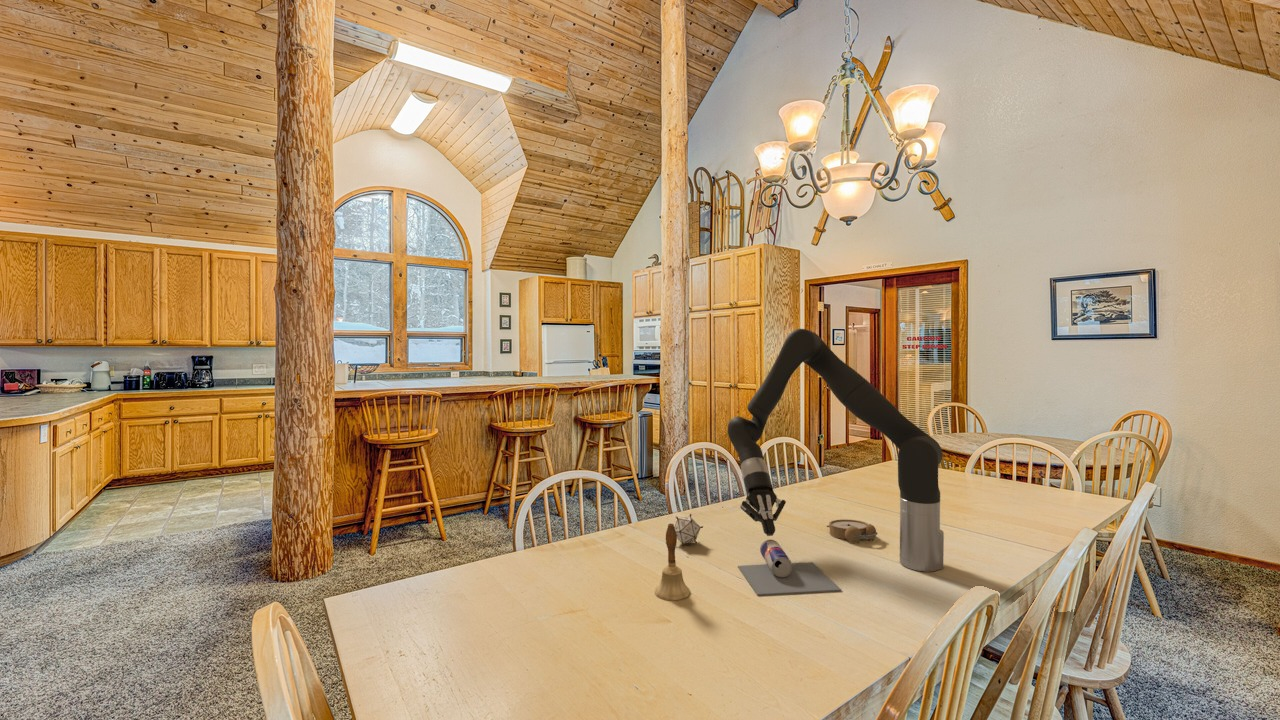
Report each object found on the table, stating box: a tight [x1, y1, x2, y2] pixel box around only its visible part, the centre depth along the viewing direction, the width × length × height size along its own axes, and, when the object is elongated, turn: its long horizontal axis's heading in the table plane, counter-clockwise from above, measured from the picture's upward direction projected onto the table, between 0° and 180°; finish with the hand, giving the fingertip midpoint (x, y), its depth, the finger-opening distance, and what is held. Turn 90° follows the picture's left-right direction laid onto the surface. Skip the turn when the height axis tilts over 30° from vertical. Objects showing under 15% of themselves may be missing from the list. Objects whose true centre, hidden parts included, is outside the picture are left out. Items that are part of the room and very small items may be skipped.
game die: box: [674, 513, 704, 547], centre depth 156 cm, size 9×8×10 cm
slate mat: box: [737, 561, 842, 597], centre depth 133 cm, size 20×16×1 cm
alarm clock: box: [826, 518, 878, 544], centre depth 161 cm, size 11×5×15 cm
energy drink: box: [759, 539, 793, 577], centre depth 138 cm, size 5×5×12 cm
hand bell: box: [654, 523, 691, 601], centre depth 126 cm, size 8×8×16 cm
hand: (770, 534), depth 143 cm, fingers closed
